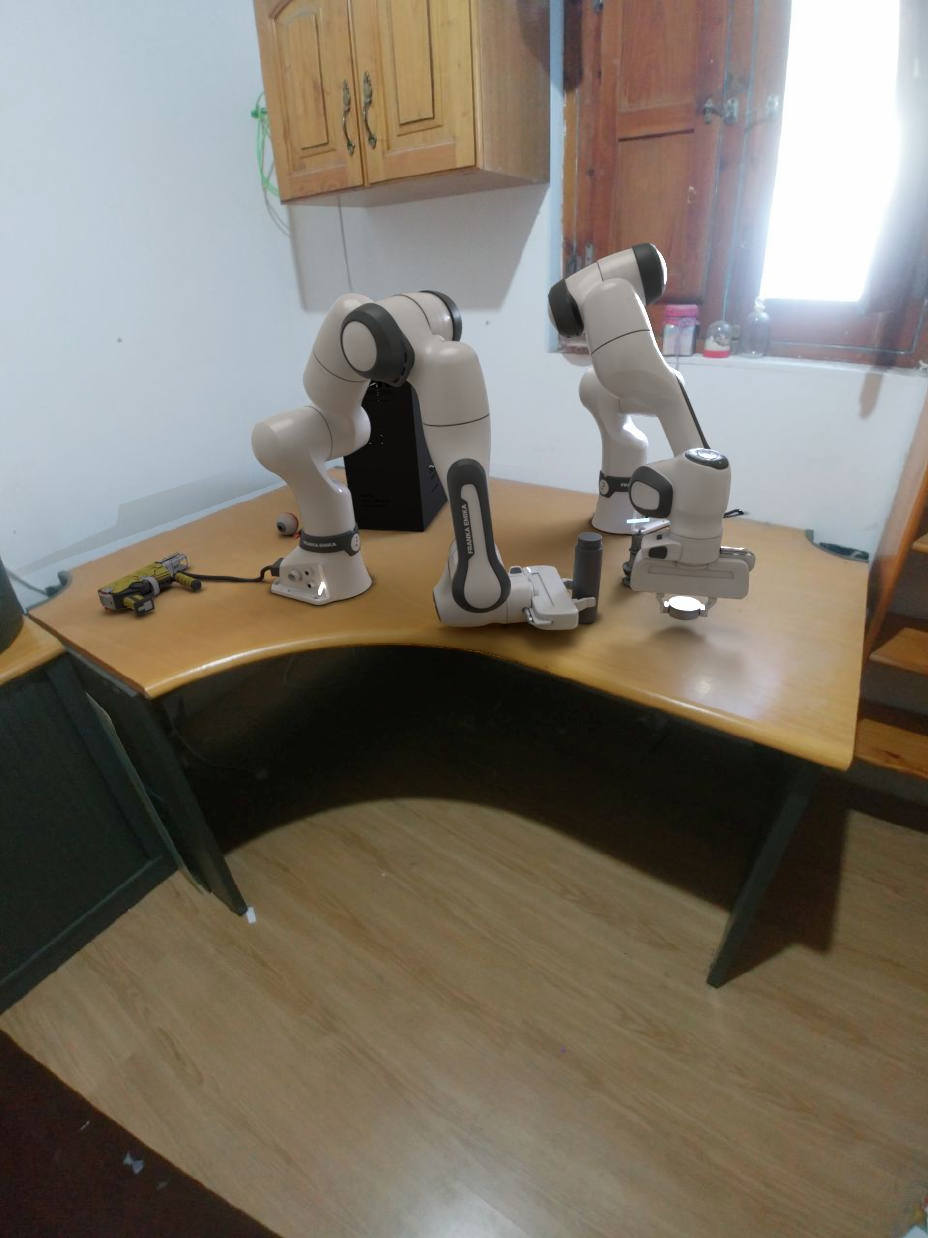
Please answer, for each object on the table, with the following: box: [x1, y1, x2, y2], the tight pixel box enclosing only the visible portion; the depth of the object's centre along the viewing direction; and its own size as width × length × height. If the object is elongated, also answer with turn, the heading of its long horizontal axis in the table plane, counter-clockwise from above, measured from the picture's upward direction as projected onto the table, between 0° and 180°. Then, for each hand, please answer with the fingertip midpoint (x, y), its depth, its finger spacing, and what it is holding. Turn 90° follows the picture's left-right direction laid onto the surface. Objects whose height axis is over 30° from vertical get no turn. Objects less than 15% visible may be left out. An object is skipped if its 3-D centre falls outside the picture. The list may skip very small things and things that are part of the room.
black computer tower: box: [342, 380, 448, 532], centre depth 169 cm, size 38×20×45 cm, turn 167°
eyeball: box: [275, 511, 300, 536], centre depth 163 cm, size 6×6×6 cm
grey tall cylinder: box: [571, 531, 604, 624], centre depth 114 cm, size 5×5×17 cm
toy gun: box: [97, 551, 203, 617], centre depth 137 cm, size 5×24×15 cm
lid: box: [667, 595, 702, 621], centre depth 112 cm, size 6×6×2 cm
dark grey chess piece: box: [621, 529, 645, 587], centre depth 127 cm, size 6×6×12 cm
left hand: (589, 592), depth 116 cm, fingers closed on grey tall cylinder, 5 cm apart
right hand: (682, 613), depth 113 cm, fingers closed on lid, 5 cm apart
